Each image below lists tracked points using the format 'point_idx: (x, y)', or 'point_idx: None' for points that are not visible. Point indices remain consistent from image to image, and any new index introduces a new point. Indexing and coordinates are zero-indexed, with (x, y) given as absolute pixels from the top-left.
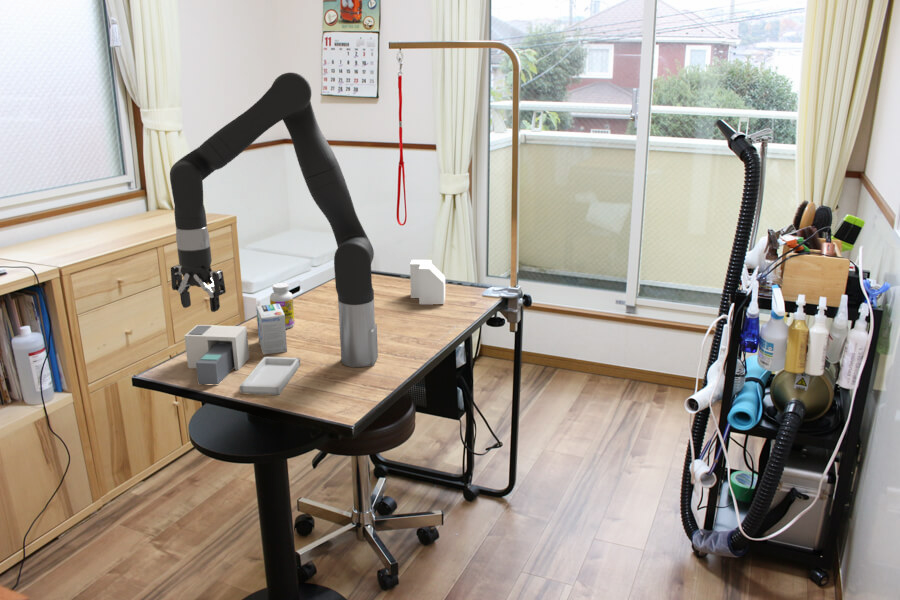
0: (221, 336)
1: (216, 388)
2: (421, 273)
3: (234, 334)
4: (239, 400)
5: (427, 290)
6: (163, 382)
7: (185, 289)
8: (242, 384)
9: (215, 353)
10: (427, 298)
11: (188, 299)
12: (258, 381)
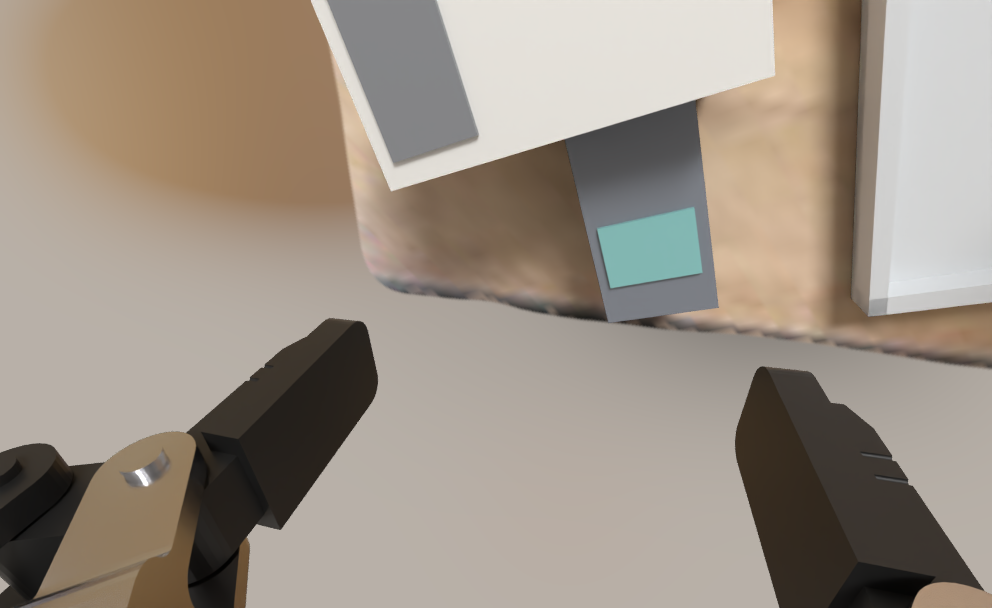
0: (639, 106)
1: None
2: None
3: (732, 13)
4: (870, 348)
5: None
6: (474, 292)
7: (207, 535)
8: (878, 302)
9: (638, 190)
10: None
11: (321, 389)
12: (925, 187)
